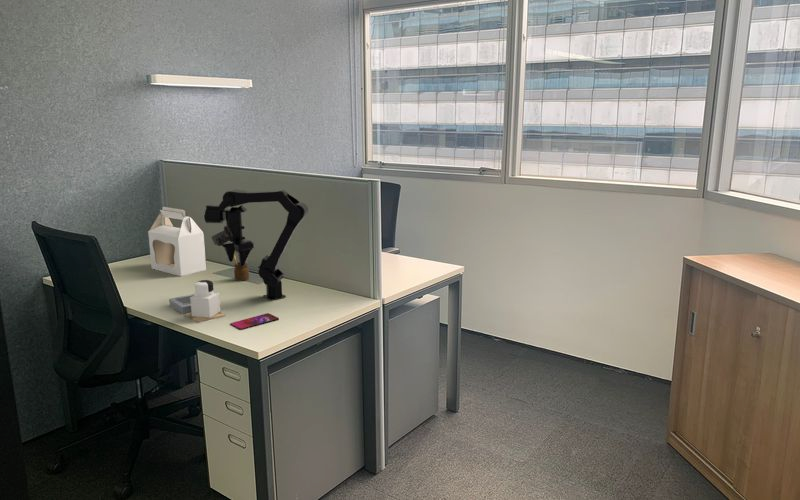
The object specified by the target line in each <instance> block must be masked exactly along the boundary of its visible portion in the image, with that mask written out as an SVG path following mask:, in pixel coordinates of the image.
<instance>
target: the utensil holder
mask: <svg viewBox="0 0 800 500" xmlns="http://www.w3.org/2000/svg"><path fill="white" fill-rule="evenodd" d="M235 253H236V252H235ZM235 253H234V257H233V260H235V261H234V262H235V263H234V273H233V274H234V280H235V281H238V282H245V281H248V280H250V272H249V271H250V270H249V269H250V268H249V267H248V266H249V265H248V260H246V261H245V264H244V266H240V261H238V262H237V256H236V254H235Z"/></svg>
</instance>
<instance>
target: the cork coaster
mask: <svg viewBox="0 0 800 500" xmlns="http://www.w3.org/2000/svg"><path fill="white" fill-rule="evenodd" d="M185 316H186V317H188V318H190V319H191V320H193V321H194V322H196V323H201V322H206V321H210V320H214V319H218V318H223V317H226V314H224V313H223V312H221V311H220V312H219V313H217V314H216V315H214V316H212V317H211V318H202V317H192V314H191V312H190V313H186V314H185Z"/></svg>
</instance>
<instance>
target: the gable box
mask: <svg viewBox="0 0 800 500" xmlns="http://www.w3.org/2000/svg"><path fill="white" fill-rule="evenodd" d="M159 211H160V212H159V214H157V216H156V218H155V219H154V222H153V224H152V225H151V226H150V228H149V230H148V231H147V233H148V234H147V235H148V244H149V254H150V255H149V256H150V264H151V265H150V266H151V270H154V269H155V271H158V270H159V272H163V273H166V274H171V275H174V276H178V277H184V276H188V275H193V274H197V273H199V272H204V271H206V270H207V265H206V261H207V260H206V250H205V236H204V231H203V230H202V229H201V228H200V226H198V224H197V222H195V221H194V219H193V218H192V217H190V216H187V211H186V210H185V209H183V208H182V209H181V208H176V207H170V206H162V209H159ZM170 218H171V219H173V220H174V219H176V220H181V225H180V227H176V226H174V225H173V223H172V222H171V219H170Z"/></svg>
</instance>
